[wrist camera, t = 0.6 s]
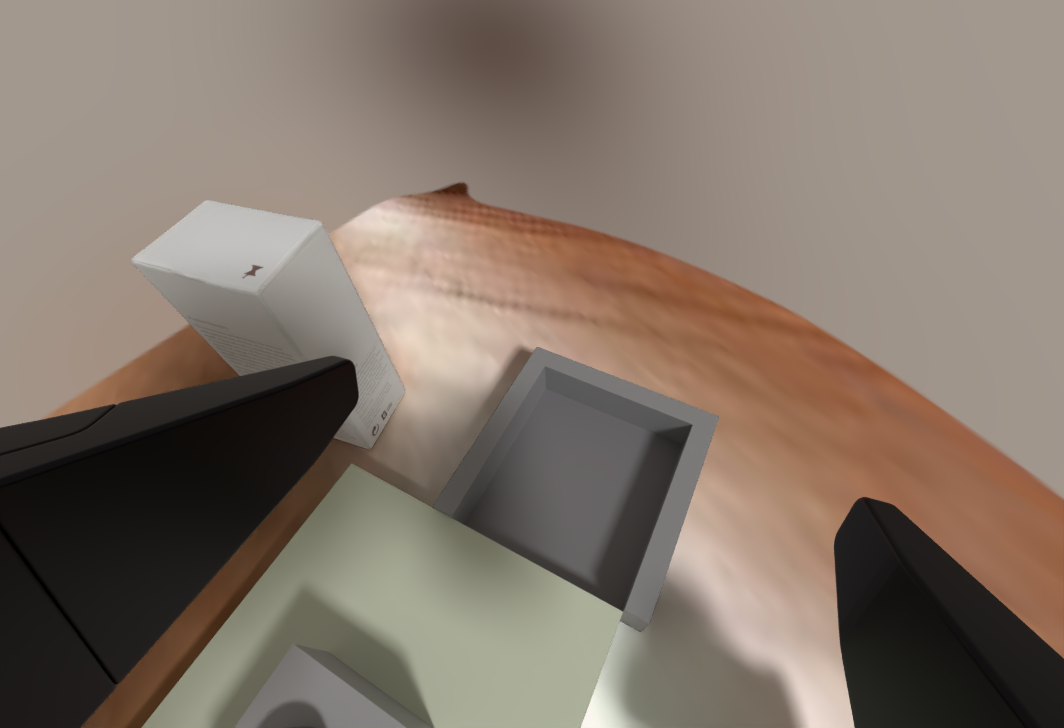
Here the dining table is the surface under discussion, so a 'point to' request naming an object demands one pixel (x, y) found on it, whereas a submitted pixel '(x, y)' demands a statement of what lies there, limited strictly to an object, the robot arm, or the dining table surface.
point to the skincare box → (273, 301)
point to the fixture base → (466, 574)
